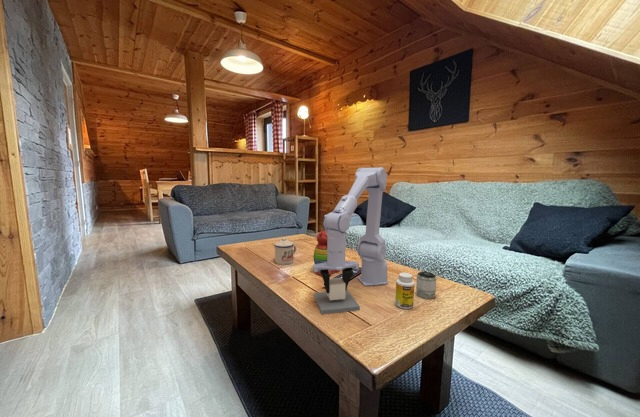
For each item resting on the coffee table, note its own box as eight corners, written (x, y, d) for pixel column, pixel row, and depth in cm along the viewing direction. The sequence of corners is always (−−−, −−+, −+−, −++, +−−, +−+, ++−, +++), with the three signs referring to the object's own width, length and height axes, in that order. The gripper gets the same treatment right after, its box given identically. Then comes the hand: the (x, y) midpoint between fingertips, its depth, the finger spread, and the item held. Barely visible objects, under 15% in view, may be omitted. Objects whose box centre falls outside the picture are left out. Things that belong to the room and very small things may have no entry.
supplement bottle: (400, 310, 80) (402, 278, 79) (391, 302, 86) (393, 272, 84) (417, 308, 82) (418, 277, 80) (407, 300, 87) (408, 270, 86)
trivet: (347, 293, 92) (347, 289, 92) (359, 310, 80) (359, 306, 80) (314, 296, 90) (314, 292, 89) (321, 314, 78) (321, 310, 78)
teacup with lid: (282, 266, 119) (282, 241, 117) (270, 262, 125) (270, 238, 123) (302, 260, 127) (302, 237, 126) (289, 256, 134) (289, 234, 132)
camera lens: (430, 301, 86) (431, 278, 85) (412, 295, 91) (413, 273, 90) (438, 295, 91) (439, 273, 90) (420, 289, 95) (422, 268, 94)
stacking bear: (327, 278, 106) (327, 234, 103) (307, 272, 112) (307, 231, 109) (341, 270, 114) (342, 230, 112) (323, 265, 120) (323, 227, 118)
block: (340, 292, 88) (340, 277, 87) (345, 298, 83) (345, 283, 83) (326, 293, 87) (326, 279, 86) (330, 300, 82) (330, 285, 81)
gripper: (316, 255, 77) (316, 299, 79) (362, 252, 80) (361, 294, 82) (312, 248, 84) (312, 289, 86) (354, 246, 87) (354, 285, 89)
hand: (335, 291), depth 85 cm, fingers closed on block, 5 cm apart
